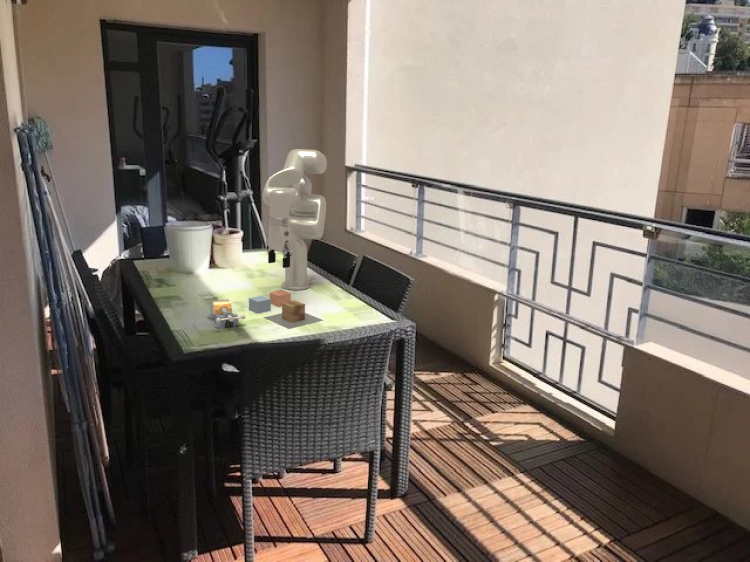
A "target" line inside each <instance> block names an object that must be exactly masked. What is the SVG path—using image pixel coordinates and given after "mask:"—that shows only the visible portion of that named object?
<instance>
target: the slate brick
mask: <svg viewBox="0 0 750 562" xmlns="http://www.w3.org/2000/svg"><path fill="white" fill-rule="evenodd" d="M248 310H249V311H251V312H253V313H256V314H262V313H267V312H271V311H272V304H271V299H270V297H267V296H264V295H257V296H253V297H252V296H251V297H248Z"/></svg>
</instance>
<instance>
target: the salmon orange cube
mask: <svg viewBox="0 0 750 562" xmlns="http://www.w3.org/2000/svg"><path fill="white" fill-rule="evenodd" d="M269 299H271V306H275V307H277V308H282V303H284V302H289V301H292V293H291V292H289V291H286V290H283V289H280V290H274V291H269Z"/></svg>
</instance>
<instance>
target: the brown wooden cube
mask: <svg viewBox="0 0 750 562" xmlns="http://www.w3.org/2000/svg"><path fill="white" fill-rule="evenodd" d="M281 313H282V319H285V320H287V321H289V322H296V321H300V320H304V319H305V313H306V303H304V302H301V301H298V300H296V299H295V300H291V301H289V302H284V303H282V307H281Z"/></svg>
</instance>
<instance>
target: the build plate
mask: <svg viewBox="0 0 750 562" xmlns="http://www.w3.org/2000/svg"><path fill="white" fill-rule="evenodd" d="M263 319H265V320H268V321H270V322H272V323H275V324H277V326H281V327H284V328H286V329H288V330H291V329H295V328H299V327H305V326H307V325H311V324H315V323H318V322H319V323H320V322H323V321H324V319H321V318H319V317H317V316H315V315H312V314H308V313H307V312H305V319H304V320H300V321H296V322H289V321H287V320H285V319H282V312H281V313H278V314H272V315H267V316H264V317H263Z"/></svg>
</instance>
